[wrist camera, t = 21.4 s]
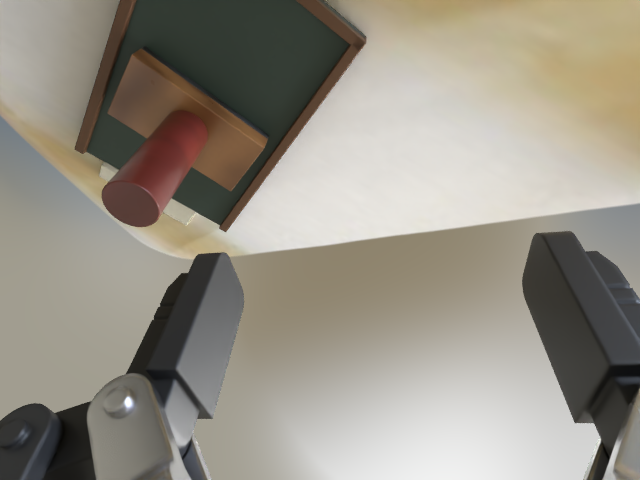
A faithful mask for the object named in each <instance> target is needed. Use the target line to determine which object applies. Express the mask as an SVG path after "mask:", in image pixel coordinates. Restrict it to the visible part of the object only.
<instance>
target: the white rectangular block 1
mask: <svg viewBox="0 0 640 480" xmlns="http://www.w3.org/2000/svg"><path fill="white" fill-rule="evenodd" d="M118 171H119V170H118V169H116V168H115V167H113V166H111V165H110V164H108V163H106V162H104V163H103V164H102V166H101V170H100V174H99V177H101V178H103V179H104V180H106V181H108V182H109V181H110V180H111V179H112V177H113V176H114V175H115V174H116V173H117V172H118Z"/></svg>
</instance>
